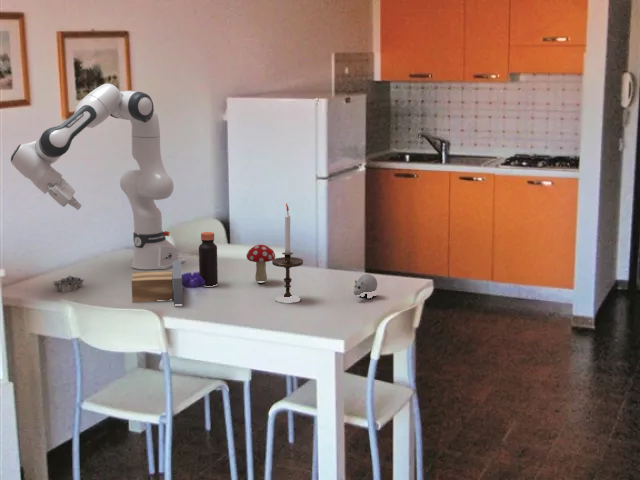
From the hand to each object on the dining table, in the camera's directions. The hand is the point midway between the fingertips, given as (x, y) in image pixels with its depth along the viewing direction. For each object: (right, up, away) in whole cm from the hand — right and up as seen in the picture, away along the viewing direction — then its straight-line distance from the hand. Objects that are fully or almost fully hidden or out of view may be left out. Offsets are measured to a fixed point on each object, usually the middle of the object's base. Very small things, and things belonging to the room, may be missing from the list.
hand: (79, 207), depth 323 cm
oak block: (+27, -32, -3) cm, 42 cm away
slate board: (+36, -32, -2) cm, 48 cm away
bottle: (+45, -29, +13) cm, 55 cm away
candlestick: (+75, -33, -6) cm, 83 cm away
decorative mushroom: (+64, -28, +16) cm, 72 cm away
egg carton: (-7, -30, +8) cm, 32 cm away
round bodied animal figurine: (+102, -33, -3) cm, 108 cm away
